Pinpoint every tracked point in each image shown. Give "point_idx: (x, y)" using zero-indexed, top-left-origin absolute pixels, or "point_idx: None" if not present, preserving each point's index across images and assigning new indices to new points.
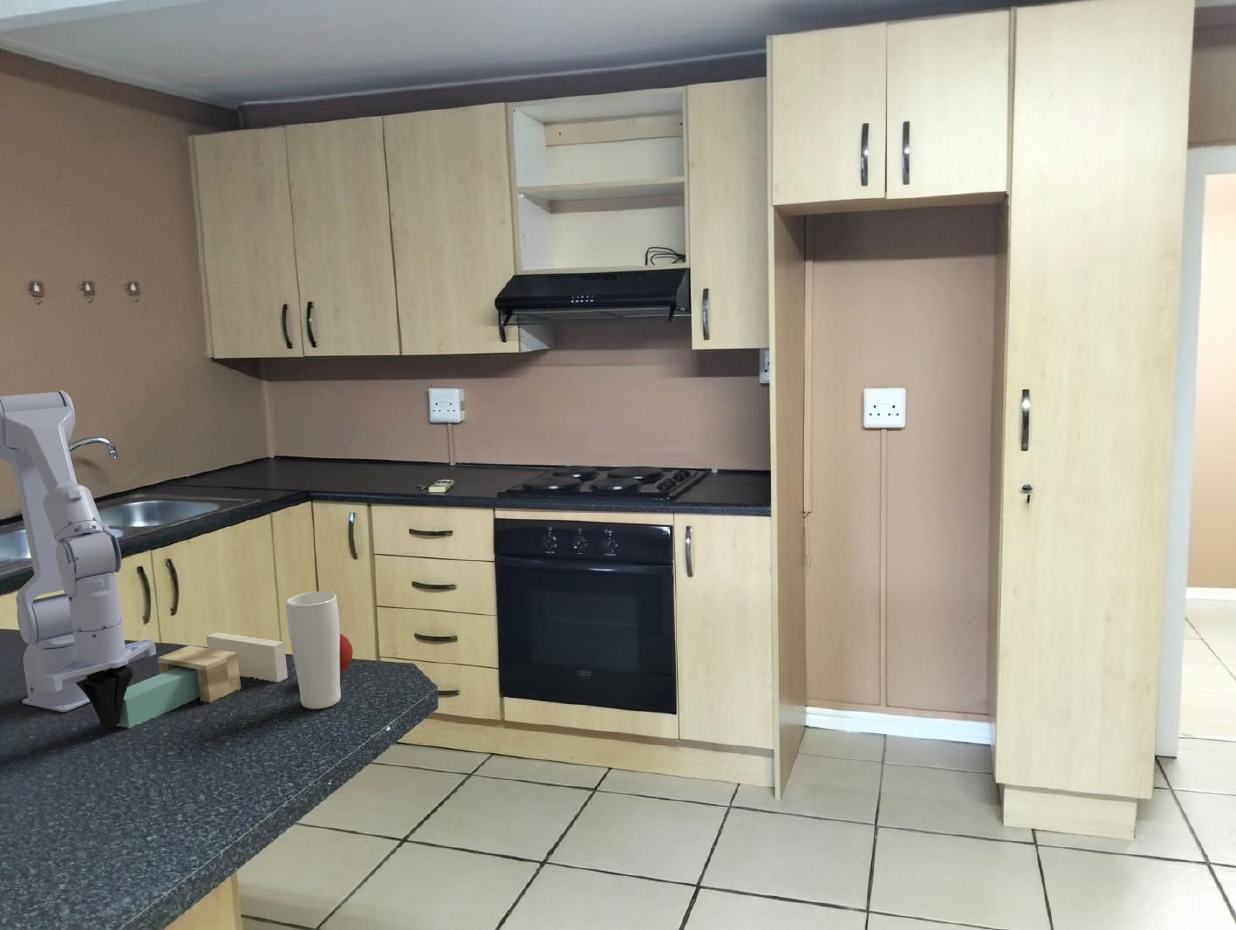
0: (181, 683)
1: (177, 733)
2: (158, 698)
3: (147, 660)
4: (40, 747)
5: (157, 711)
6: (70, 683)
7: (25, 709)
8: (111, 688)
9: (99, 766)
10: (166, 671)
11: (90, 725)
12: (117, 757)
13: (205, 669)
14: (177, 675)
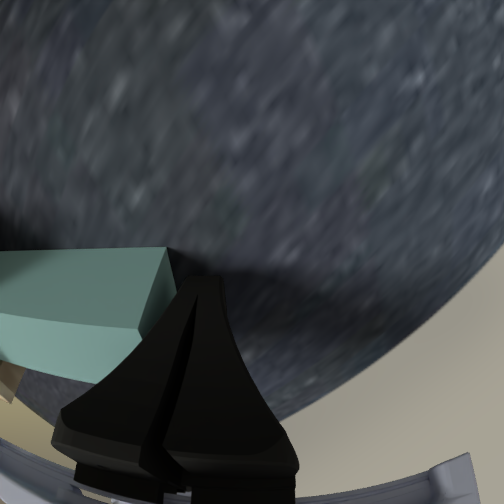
0: None
1: (97, 50)
2: (40, 286)
3: (51, 408)
4: (352, 338)
5: (66, 258)
6: (380, 489)
7: None
8: (202, 406)
9: (429, 78)
10: (7, 363)
11: None
12: (358, 68)
13: None
14: None
